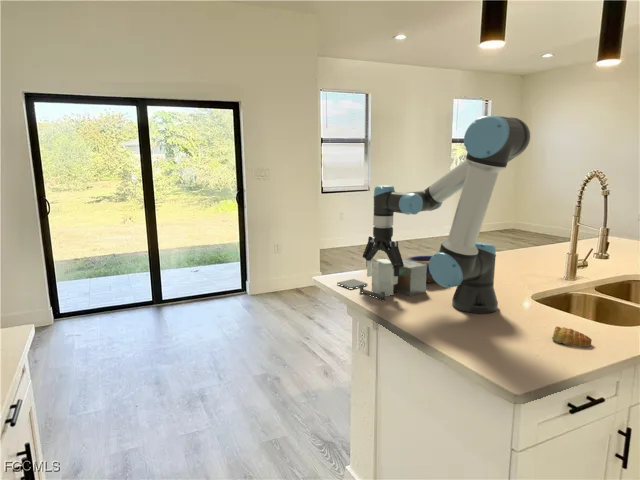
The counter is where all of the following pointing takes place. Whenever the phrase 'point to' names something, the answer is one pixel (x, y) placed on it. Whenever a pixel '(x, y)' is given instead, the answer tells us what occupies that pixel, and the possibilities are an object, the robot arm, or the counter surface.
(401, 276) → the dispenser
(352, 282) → the coaster
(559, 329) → the pastry
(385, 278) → the small box
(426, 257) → the bowl
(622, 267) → the counter surface
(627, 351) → the counter surface
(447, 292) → the counter surface
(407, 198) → the robot arm
